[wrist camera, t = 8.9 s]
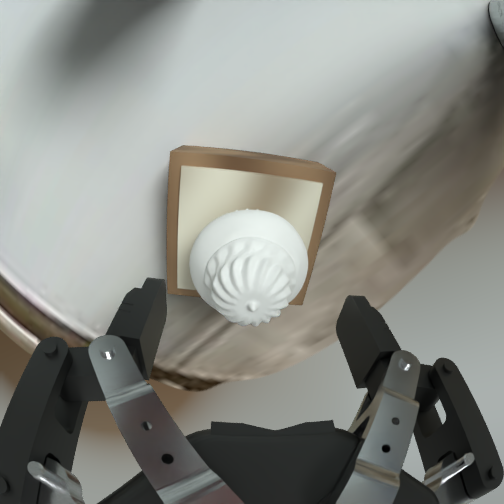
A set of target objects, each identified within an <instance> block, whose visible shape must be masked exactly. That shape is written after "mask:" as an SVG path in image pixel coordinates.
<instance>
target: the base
mask: <svg viewBox="0 0 504 504" xmlns="http://www.w3.org/2000/svg"><path fill="white" fill-rule="evenodd" d="M335 176H336V172H334V171H332V170H331V169H329V168H327V167H325V166H324V165H322V164H320V163H318V162H313V161H308V160H302V159H296V158H290V157H284V156H278V155H271V154H264V153H257V152H249V151H241V150H232V149H222V148H212V147H199V146H185V145H183V146H181V147H179V148H176V149H174V150H172V151H170V162H169V178H168V199H167V290H168V294H176V295H185V296H194V297H201V296H200V295H199V293H198V292H197V290H196V288H195V286H194V284H193V281H192V278H191V274H190V267H189V261H190V254H191V250H192V247H193V244H194V242H195V240H196V238H197V237H198V235H199V234H200V232H201V231H202V230H203V229H204V228H205V227H206V226H207V225H208V224H209V223H210V222H212V221H213V220H215V219H216V218H218V217H220V216H222V215H225V214H226V213H230V212H234V211H236V210H238V211H239V210H246V209H249V210H257V209H259V210H262V211H267V212H271V213H274V214H276V215H278V216H280V217H282V218H284V219H285V220H286V221H288V222H289V223H290V224H291V225H292V226H293V227H294V228H295V230H296V231H297V232H298V234H299V235H300V237H301V239H302V240H303V243H304V245H305V247H306V251H307V255H308V271H307V276H306V279H305V282H304V284H303V286H302V288H301V290H300V292H299V293H298V294H297V296H296V297H295V298H294V299H293V300H292V301H291V302H289V303H288V304H291V305H302V304H303V301H304V298H305V294H306V291H307V287H308V284H309V280H310V277H311V273H312V270H313V266H314V262H315V259H316V255H317V251H318V247H319V243H320V240H321V236H322V232H323V228H324V224H325V220H326V215H327V211H328V207H329V203H330V198H331V194H332V189H333V185H334V180H335Z"/></svg>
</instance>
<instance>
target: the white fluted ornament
mask: <svg viewBox="0 0 504 504" xmlns="http://www.w3.org/2000/svg"><path fill="white" fill-rule="evenodd" d="M189 267H190V274H191V278H192V281H193V284H194V286H195V288H196V290H197V292H198V293H199V295H200V296H201V297H202V298H203V300H204V301H205V302H206V303H207V304H209V305H210V306H211V307H213V308H214V309H216V310H217V311H218V312H219V313H220V314H222V315H224V317H225V318H226V319H227V320H228V321H230V322H234V323H235V322H237V323H238V324H239V325H241V326H246V325H248V324H251V325H253V326H258V325H259V324H260V323H261V322H264V323H269V322H270V319H271V317H279V316H280V309H283V308H286V307H287V306H288V303H289V302H291V301H292V300H293V299H294V298H295V297H296V296H297V294H298V293H299V292H300V290H301V288H302V286H303V284H304V282H305V279H306V276H307V271H308V255H307V251H306V247H305V245H304V243H303V240H302V239H301V237H300V235H299V234H298V232H297V231H296V230H295V228H294V227H293V226H292V225H291V224H290V223H289V222H288V221H286V220H285V219H284V218H282V217H280V216H278V215H276V214H274V213H271V212H267V211H262V210H259V209H257V210H249V209H246V210H239V211H238V210H236V211H234V212H230V213H226V214H225V215H222V216H220V217H218V218H216V219H215V220H213V221H212V222H210V223H209V224H208V225H207V226H206V227H205V228H204V229H203V230H202V231H201V232H200V234H199V235H198V237H197V238H196V240H195V242H194V244H193V247H192V250H191V254H190V261H189Z"/></svg>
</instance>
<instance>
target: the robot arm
mask: <svg viewBox="0 0 504 504" xmlns="http://www.w3.org/2000/svg"><path fill="white" fill-rule="evenodd" d="M489 13H490V17H491V21H492V24H493V26H494V29H495V31H496V34H497V36H498V38H499V40H500V42H501V44H502V45H503V47H504V0H493V1H491V2H490V4H489ZM166 315H167V304H166V287H165V280H164V279H155V278H147V279H146V280H145V282H144V284H143V286H142V288H134V289H132V290H131V291H130V292H128V293H127V294H126V296H125V298H124V299H123V301H122V304H121V305H120V307H119V309H118V311H117V313H116V315H115V317H114V319H113V321H112V323H111V325H110V327H109V329H108V331H107V333H106V335H104V336H100V337H98V338H96V339H95V340H94V341H93V342H92V343H91V344H90V346H89V347H75V348H68V345H67V343H66V342H65V341H64V340H63V339H61V338H59V337H49V338H46V339H44V340H42V341H41V342H40V343H39V344H38V346H37V347H36V349H35V351H34V353H33V355H32V357H31V359H30V360H29V362H28V365H27V366H26V369H25V370H24V372H23V374H22V376H21V379H20V381H19V383H18V385H17V387H16V390H15V392H14V394H13V397H12V399H11V401H10V404H9V406H8V408H7V411H6V413H5V416H4V419H3V421H2V424H1V427H0V504H85V503H84V500H83V497H82V487H81V484H80V482H79V480H78V479H77V477H76V476H75V475H74V474H72V473H71V470H72V465H73V460H74V455H75V451H76V446H77V442H78V437H79V434H80V430H81V426H82V422H83V418H84V415H85V411H86V408H87V404H88V401H105V400H106V402H107V404H108V406H109V409H110V410H111V413H112V415H113V417H114V419H115V421H116V424H117V426H118V428H119V430H120V432H121V434H122V436H123V437H124V439H125V441H126V443H127V445H128V447H129V449H130V450H131V452H132V454H133V456H134V457H135V459H136V461H137V462H138V464H139V466H140V467H141V469H142V471H141V472H140V473H138V474H137V475H136V476H134V477H133V478H132V479H131V480H129V481H128V482H127V483H125V484H124V485H123V486H121V487H120V488H119V489H117V490H116V491H114V492H113V493H112V494H110V495H109V496H107V497H106V498H104V499H103V500H102V501H100V502H99V503H97V504H468V503H470V502H472V501H473V500H475V499H477V498H479V497H481V496H483V495H485V494H487V493H489V492H490V491H492V490H494V489H495V488H497V487H498V486H499V485H500V484H501V482H502V479H503V475H504V471H503V466H502V463H501V461H500V458H499V455H498V452H497V450H496V447H495V444H494V442H493V439H492V437H491V435H490V432H489V430H488V428H487V425H486V423H485V421H484V419H483V416H482V415H481V412H480V410H479V408H478V406H477V404H476V402H475V400H474V398H473V396H472V394H471V392H470V390H469V388H468V386H467V384H466V382H465V380H464V378H463V377H462V375H461V373H460V371H459V369H458V368H457V366H456V365H455V363H453V362H452V361H451V360H449V359H447V358H439V359H438V360H436V362H435V363H434V365H433V366H430V365H424V364H420V362H419V360H418V359H417V358H416V356H414V355H413V354H412V353H410V352H408V351H404V350H401V348H400V346H399V345H398V343H397V341H396V339H395V338H394V336H393V334H392V332H391V331H390V330H389V327H388V325H387V324H386V323H385V320H384V319H383V317H382V315H381V314H380V313H379V312H378V311H377V310H376V309H375V308H374V307H371V306H370V304H369V302H368V301H367V299H366V298H365V297H364V296H351V295H349V296H348V297H347V298H346V300H345V303H344V305H343V308H342V310H341V313H340V315H339V318H338V320H337V324H336V332H337V336H338V338H339V341H340V344H341V346H342V349H343V352H344V354H345V357H346V359H347V362H348V365H349V368H350V371H351V373H352V376H353V379H354V382H355V385H356V387H357V388H367V389H368V392H367V393H366V395H365V396H364V399H363V401H362V403H361V405H360V408H359V410H358V412H357V414H356V416H355V418H354V420H353V423H352V424H351V426H350V428H349V429H348V431H346V430H343V429H338V428H335V427H334V423H333V420H330V421H320V422H305V423H302V424H299V425H295V426H292V427H288V428H285V429H281V430H270V429H265V428H260V427H256V426H252V425H247V424H244V423H226V422H211V429H207V430H202V431H198V432H195V433H192V434H189V435H187V436H184V435H183V433H182V432H181V430H180V429H179V428H178V426H177V425H176V423H175V422H174V421H173V419H172V417H171V416H170V415H169V413H168V411H167V410H166V408H165V407H164V405H163V404H162V402H161V401H160V399H159V397H158V396H157V394H156V393H155V391H154V390H153V388H152V386H151V385H150V384H147V383H146V382H145V380H149V378H150V374H151V370H152V367H153V363H154V359H155V356H156V352H157V349H158V345H159V342H160V338H161V335H162V331H163V328H164V325H165V321H166ZM439 399H440V401H441V403H442V405H443V408H444V410H445V412H446V421H445V423H444V424H443V425H442V423H441V420H440V418H439V415H438V412H437V410H436V408H435V404H436V403H437V402H438V400H439ZM413 433H414V436H415V439H416V442H417V445H418V449H419V452H420V455H421V459H422V462H423V466H424V469H425V473H426V474H425V477H424V481H422V482H420V481H418V480H417V479H415V478H414V477H412V476H411V475H409V474H408V473H407V472H405V471H404V470H402V466H403V463H404V460H405V457H406V454H407V451H408V447H409V444H410V441H411V437H412V434H413Z"/></svg>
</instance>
